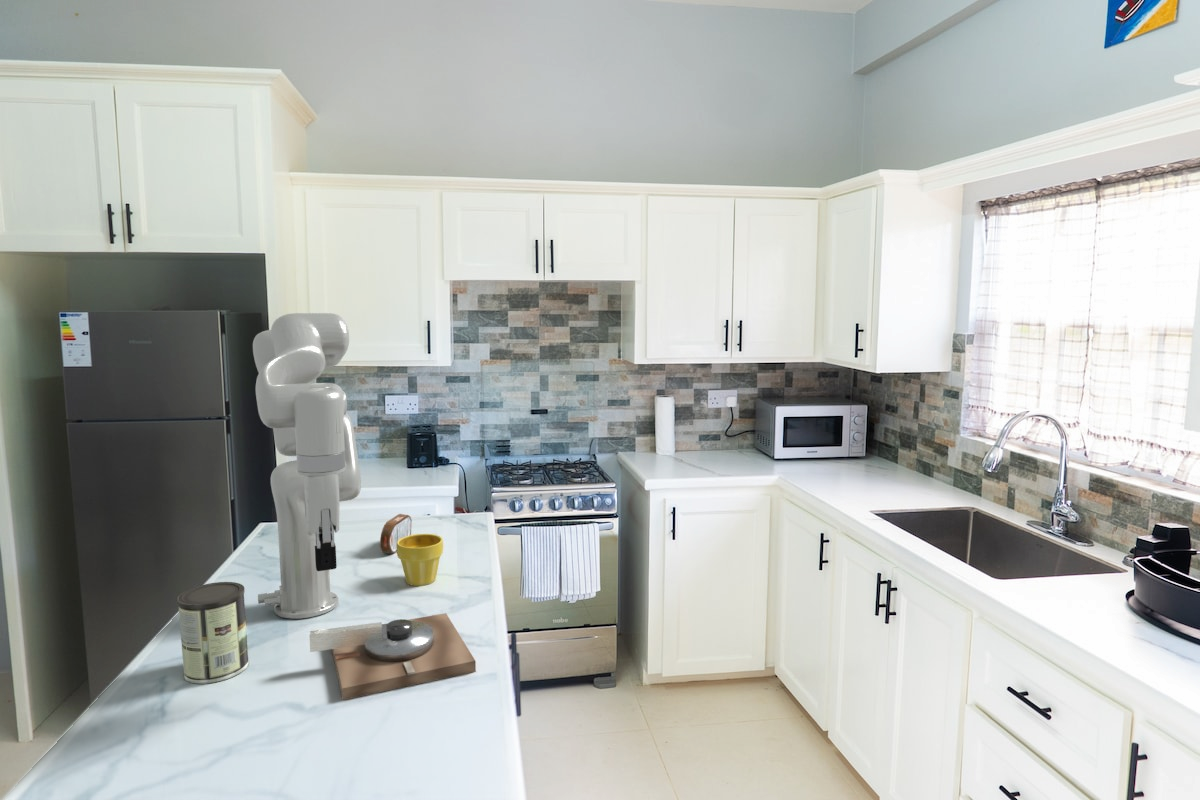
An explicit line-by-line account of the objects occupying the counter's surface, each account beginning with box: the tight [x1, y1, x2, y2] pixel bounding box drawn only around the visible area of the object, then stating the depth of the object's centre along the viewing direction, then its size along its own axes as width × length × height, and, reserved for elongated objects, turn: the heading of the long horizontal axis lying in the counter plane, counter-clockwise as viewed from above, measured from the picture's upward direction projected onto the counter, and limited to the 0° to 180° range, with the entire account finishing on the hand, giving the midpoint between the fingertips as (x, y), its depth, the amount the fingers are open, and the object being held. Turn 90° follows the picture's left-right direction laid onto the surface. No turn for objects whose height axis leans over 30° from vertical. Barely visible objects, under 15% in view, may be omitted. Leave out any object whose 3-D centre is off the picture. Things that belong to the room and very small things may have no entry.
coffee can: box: [176, 581, 250, 685], centre depth 126 cm, size 10×10×14 cm
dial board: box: [331, 612, 477, 701], centre depth 131 cm, size 22×22×2 cm
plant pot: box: [396, 533, 444, 587], centre depth 168 cm, size 10×10×10 cm
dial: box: [309, 619, 434, 662], centre depth 130 cm, size 21×12×4 cm, turn 108°
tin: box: [379, 513, 413, 554], centre depth 191 cm, size 15×3×8 cm, turn 172°
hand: (326, 568), depth 123 cm, fingers closed
